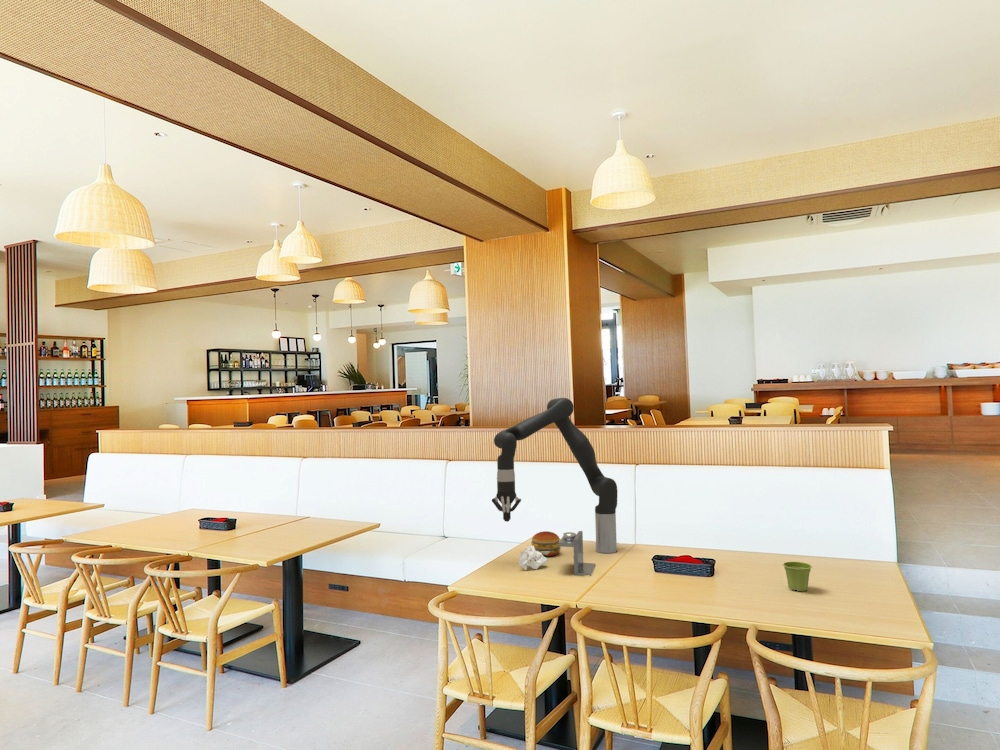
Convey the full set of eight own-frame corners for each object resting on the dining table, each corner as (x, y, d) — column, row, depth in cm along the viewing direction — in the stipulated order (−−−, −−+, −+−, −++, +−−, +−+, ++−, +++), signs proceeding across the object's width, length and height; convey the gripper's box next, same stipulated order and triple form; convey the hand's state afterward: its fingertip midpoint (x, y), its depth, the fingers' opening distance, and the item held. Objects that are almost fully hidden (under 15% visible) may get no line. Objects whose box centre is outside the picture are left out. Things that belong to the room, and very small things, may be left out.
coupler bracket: (565, 563, 271) (564, 529, 271) (595, 565, 268) (594, 530, 268) (559, 574, 256) (558, 537, 256) (590, 576, 252) (589, 538, 253)
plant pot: (816, 593, 224) (815, 568, 225) (787, 593, 226) (786, 568, 226) (808, 586, 233) (807, 561, 234) (780, 585, 235) (780, 561, 235)
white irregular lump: (549, 563, 261) (531, 547, 261) (534, 579, 261) (517, 563, 261) (548, 556, 273) (531, 540, 273) (534, 571, 273) (517, 556, 273)
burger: (561, 558, 281) (560, 535, 282) (530, 558, 282) (529, 535, 282) (560, 550, 295) (559, 528, 295) (530, 550, 295) (530, 528, 296)
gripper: (523, 478, 273) (524, 519, 273) (493, 478, 276) (494, 519, 276) (519, 481, 266) (520, 523, 265) (488, 480, 269) (489, 522, 269)
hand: (506, 521), depth 271 cm, fingers closed
